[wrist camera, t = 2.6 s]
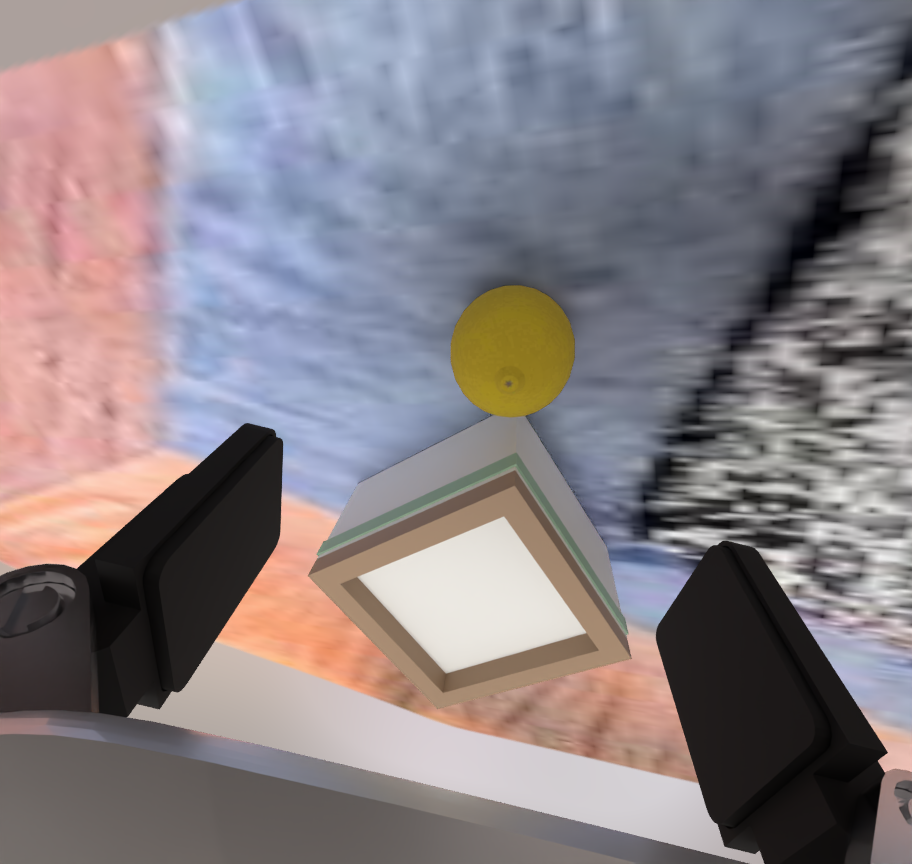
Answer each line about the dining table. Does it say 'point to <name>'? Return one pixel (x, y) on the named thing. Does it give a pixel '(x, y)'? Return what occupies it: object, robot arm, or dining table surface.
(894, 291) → the dining table surface
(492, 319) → the lemon
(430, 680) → the stand
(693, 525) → the dining table surface
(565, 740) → the dining table surface
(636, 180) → the dining table surface
